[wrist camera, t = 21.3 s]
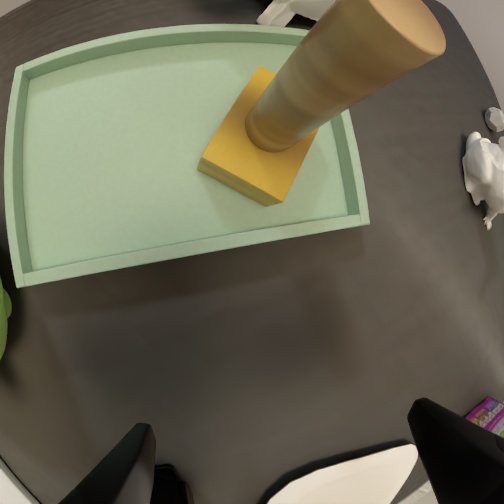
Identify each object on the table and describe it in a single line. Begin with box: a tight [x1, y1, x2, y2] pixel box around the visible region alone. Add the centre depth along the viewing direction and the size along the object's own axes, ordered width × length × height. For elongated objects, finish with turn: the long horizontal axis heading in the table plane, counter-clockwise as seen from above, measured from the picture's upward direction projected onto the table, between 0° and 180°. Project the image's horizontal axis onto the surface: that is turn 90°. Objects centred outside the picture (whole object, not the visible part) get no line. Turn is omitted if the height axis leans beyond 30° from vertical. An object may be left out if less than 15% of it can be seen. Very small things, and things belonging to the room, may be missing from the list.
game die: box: [485, 107, 504, 132], centre depth 25 cm, size 4×4×3 cm
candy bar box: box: [463, 396, 504, 438], centre depth 22 cm, size 11×5×16 cm, turn 93°
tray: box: [4, 24, 370, 288], centre depth 16 cm, size 24×16×2 cm, turn 99°
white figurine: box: [462, 132, 504, 230], centre depth 20 cm, size 12×8×10 cm, turn 13°
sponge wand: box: [197, 0, 446, 207], centre depth 11 cm, size 7×5×14 cm
